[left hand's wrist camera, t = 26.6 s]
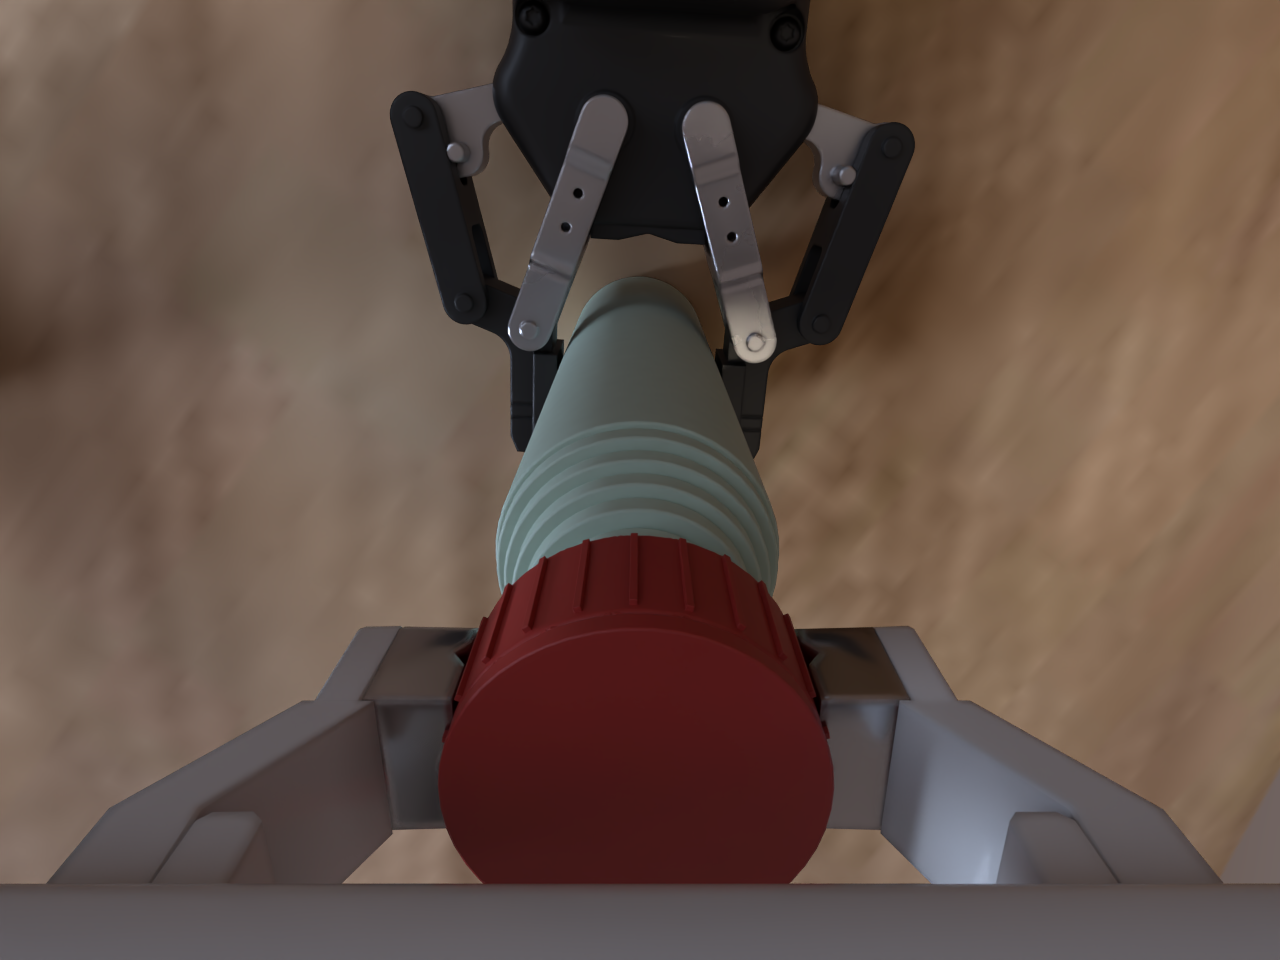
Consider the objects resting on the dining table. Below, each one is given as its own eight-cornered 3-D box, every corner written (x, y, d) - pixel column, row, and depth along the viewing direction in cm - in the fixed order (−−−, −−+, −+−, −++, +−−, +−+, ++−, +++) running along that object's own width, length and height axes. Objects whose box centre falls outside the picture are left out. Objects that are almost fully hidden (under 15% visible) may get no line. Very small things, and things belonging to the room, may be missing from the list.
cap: (423, 736, 11) (372, 867, 9) (554, 471, 9) (531, 554, 7) (702, 846, 11) (715, 989, 9) (863, 613, 10) (920, 724, 8)
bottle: (569, 394, 31) (418, 884, 10) (581, 268, 29) (429, 533, 8) (691, 408, 31) (802, 919, 10) (710, 284, 29) (894, 585, 8)
